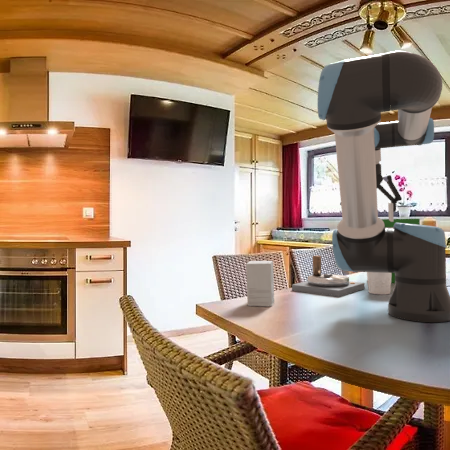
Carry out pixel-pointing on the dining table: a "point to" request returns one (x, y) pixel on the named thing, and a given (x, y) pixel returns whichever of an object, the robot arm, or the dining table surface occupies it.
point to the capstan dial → (325, 276)
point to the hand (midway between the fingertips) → (371, 223)
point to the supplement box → (260, 283)
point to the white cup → (379, 282)
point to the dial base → (329, 288)
